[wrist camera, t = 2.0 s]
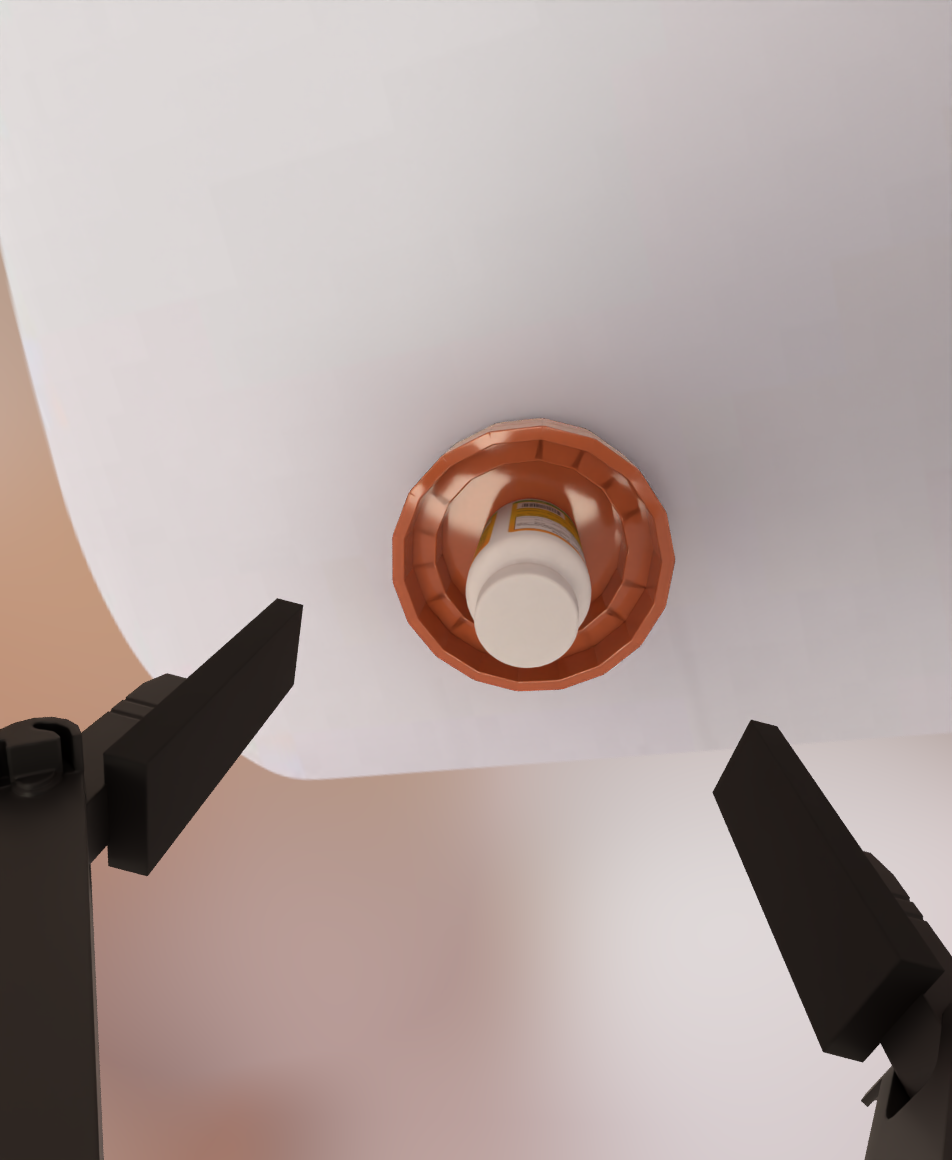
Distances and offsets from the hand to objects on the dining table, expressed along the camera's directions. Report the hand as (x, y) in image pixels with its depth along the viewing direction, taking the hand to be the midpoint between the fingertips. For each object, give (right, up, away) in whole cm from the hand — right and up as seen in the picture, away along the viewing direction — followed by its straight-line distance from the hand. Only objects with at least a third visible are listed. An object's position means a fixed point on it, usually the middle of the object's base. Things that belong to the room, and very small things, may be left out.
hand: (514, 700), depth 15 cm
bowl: (+2, +6, +14) cm, 15 cm away
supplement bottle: (+2, +5, +14) cm, 15 cm away
